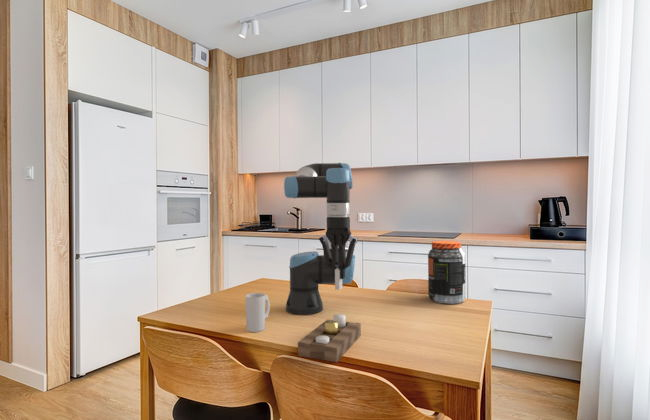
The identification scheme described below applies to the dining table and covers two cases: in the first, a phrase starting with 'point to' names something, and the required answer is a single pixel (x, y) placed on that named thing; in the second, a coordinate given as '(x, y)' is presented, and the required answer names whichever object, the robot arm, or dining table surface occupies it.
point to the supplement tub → (446, 272)
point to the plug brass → (331, 327)
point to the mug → (256, 311)
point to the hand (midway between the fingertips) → (338, 288)
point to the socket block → (334, 346)
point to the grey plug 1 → (322, 339)
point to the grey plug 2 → (340, 320)
